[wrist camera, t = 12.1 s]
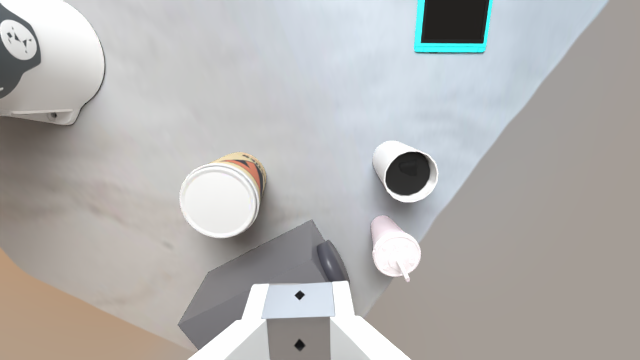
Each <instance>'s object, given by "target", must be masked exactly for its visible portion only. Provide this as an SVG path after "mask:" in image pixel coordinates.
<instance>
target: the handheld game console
mask: <svg viewBox="0 0 640 360" xmlns="http://www.w3.org/2000/svg"><path fill="white" fill-rule="evenodd" d="M492 1H493V0H418V7H417V19H416V31H415V43H414V50H415V52H429V53H437V52H484V51H485V49H486V48H485V47H486V43H487V36H488V29H489V22H490V15H491V8H492Z"/></svg>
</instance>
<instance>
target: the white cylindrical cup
mask: <svg viewBox="0 0 640 360" xmlns="http://www.w3.org/2000/svg"><path fill="white" fill-rule="evenodd" d="M372 163H373V166H374V169H375V171H376V173H377V174H378V176H379V178H380V180H381V181H382V183H383V185H384V187H385V188H386V190H387V192H388V193H389V194H390V195H391V196H392V197H393V198H394V199H397V200H399V201H402V202H416V201H418V200H421V199H424V198H425V197H426V196H427V195H428V194H430V193H431V192H432V190H433V189H434V187H435V185H436V183H437V179H438V169H437V165H436V162H435V161H434V160H433V159H432V158H431V157H430V155H429V154H426V153H424V152H422V151H420V150H417V149H415V148H412V147H410V146H408V145H405V144H403V143H400V142H398V141H387V142H384V143H382V144H380V145H379V146H378V147H377V148H376V150H375V152H374V154H373V158H372Z"/></svg>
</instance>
